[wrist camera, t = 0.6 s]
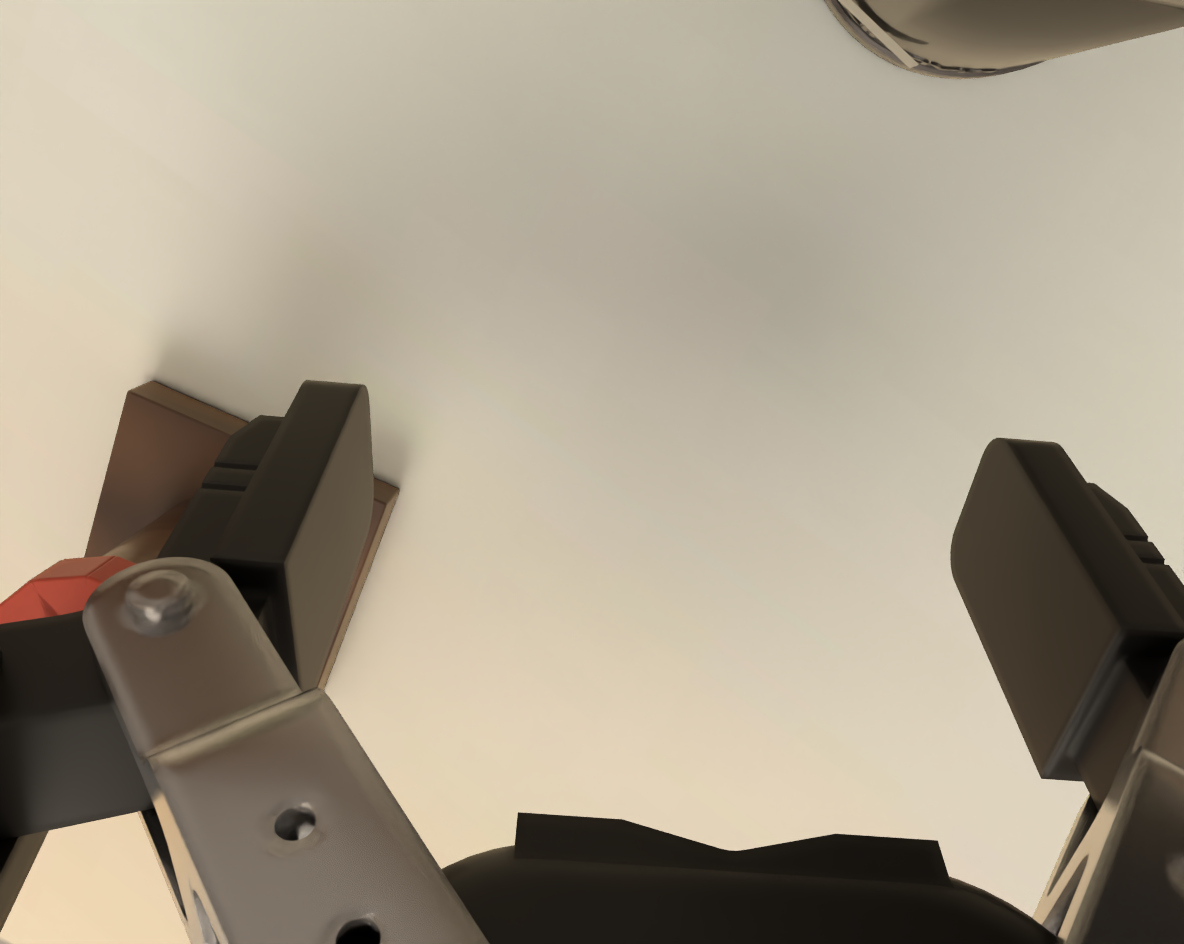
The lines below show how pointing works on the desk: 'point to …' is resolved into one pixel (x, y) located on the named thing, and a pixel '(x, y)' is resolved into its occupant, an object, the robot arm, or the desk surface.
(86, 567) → the ring
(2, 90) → the desk surface
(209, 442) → the ring stand
